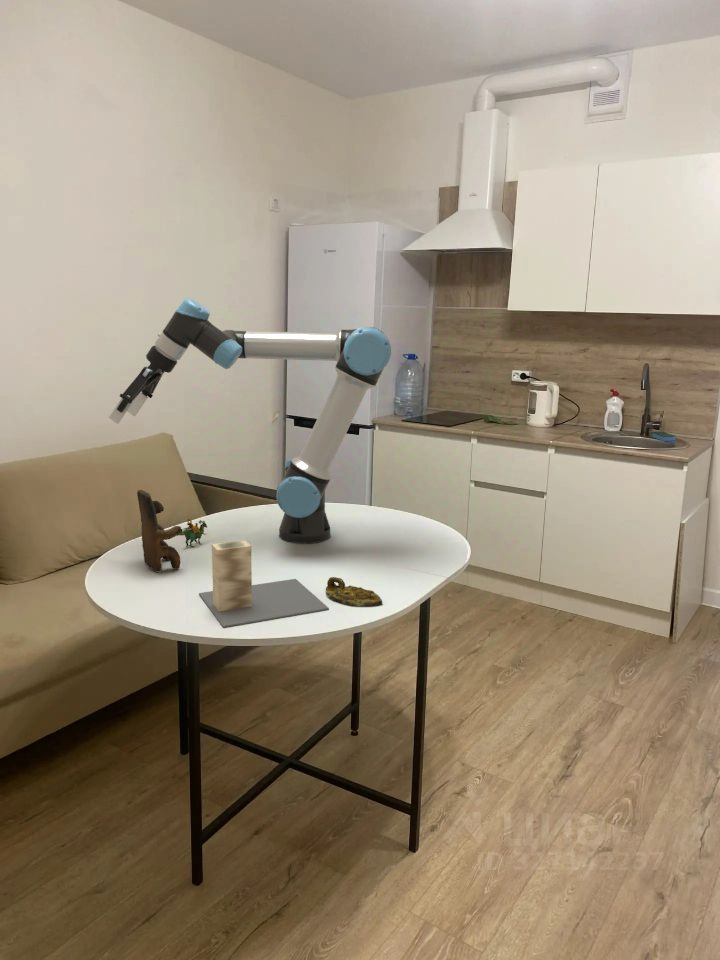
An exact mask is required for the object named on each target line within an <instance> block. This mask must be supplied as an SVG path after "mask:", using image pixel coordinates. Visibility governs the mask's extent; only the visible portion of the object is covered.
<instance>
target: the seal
mask: <svg viewBox="0 0 720 960" xmlns="http://www.w3.org/2000/svg"><path fill="white" fill-rule="evenodd" d="M326 584H327V586H326V587H325V596H326V598H327V599H328V600H330V601H332V602H333V603H336V604H337V603H338V604H340V605H344V606H347V607H353V608H354V607H355V608H370V607H371V608H372V607H378V606H381V605H382V604H383V600H382V598H381V597H380V595H379V594H377V593H375V591H374V590H370V589H365V588H363V587H359V586H358V587H357V586H354V585H348V586H346V582H345V581H344V579H342V578H341V577H335V576H332V577H329V578H328V579H327V582H326Z"/></svg>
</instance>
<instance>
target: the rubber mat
mask: <svg viewBox="0 0 720 960" xmlns="http://www.w3.org/2000/svg"><path fill="white" fill-rule="evenodd" d="M198 596H199V597H200V598H201V600H202V601H203V602H204V604H205V605H206V607H207V608H208V609H209V610H210V612H211V613H212V615H213V616H214V617H215V619H216V620H217V621H218V623H219V624H220V626H221V627H222V628H223V629H225V628H231V627H238V626H243V625H248V624H255V623H260V622H261V623H262V622H266V621H271V620H276V619H277V620H278V619H282V618H284V619H285V618H288V617H289V618H290V617H295V616H301V615H306V614H307V615H308V614H312V613H317V612H323V611H329V609H330V608H329V607H328V605H326V604H325V603H324V602H323V601H322V600H321V599H320V598H318V597H317V596H316V595H315V594H314V593H312V592H311V590H309V589H308V588H307V587H305V585H304V584H303V583H302V582H300V581H299V580H298V579H296V578H291V579H284V580H283V579H282V580H277V581H271V582H265V583H257V584H252V606H250V607H244V608H238V609H232V610H226V611H220V612H219V611H218V610H217V609H216V607H215V606H214V605H213V590H212V591H211V590H210V591H205V592H199V593H198Z"/></svg>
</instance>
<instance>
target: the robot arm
mask: <svg viewBox="0 0 720 960" xmlns="http://www.w3.org/2000/svg"><path fill="white" fill-rule="evenodd" d="M210 315H211V314H210V312H209V310H208V309H206V308H205V307H204V306H203V305H202V304H201V303H199V302H198V301H196V300H194V299H192V298H185V299H184V300H183V301H182V302H181V304H180V305H179V306H178V308H177V309H176V310H175V311H174V313H173V315H172V317H171V318H170V319H169V321H168V322H167V324H166V326H165V327H164V329H162V332H159V333H157V337H158V338H157V339H156V340H155V342H154V345H152V346H151V347H150V348H149V350H148V352H147V354H146V355H145V356H146V360H147V361H148V362H149V363H150V364H149V365H148V366H144V367H142V369H141V370H140V372H139V374H138V375H137V376H136V377H135V378H134V380H133V381H132V382H131V383H130V385H129V386H128V387H127V388H126V389H125V390H124V392H123V393H120V394H119V397H120V398H121V399H120V401H119V402H118V403H117V404H116V406H115V407H114V409H113V411H112V412H111V413H110V415H109V417H108V418H109V420H111V421H112V422H114V423H115V424H116V425H119V424H120V422H121V420H122V419H124V416H125V415H126V413H127V412H128V413H129V414H130V415H131V416H133V417H136V416H137V415H138V413H139V411H140V410H141V409H142V407H143V405H144V404H145V403H146V401H147V400H148V398H149V399H151V398H152V397H153V396H154V395H153V394H154V392H155V390H156V388H157V386H158V385H159V382H160V380H161V378H162V377H163V375H164V374H165V373H168V374H169V373H170V374H171V372H172V371H173V370H174V368H175V367H176V365H177V364H178V361H180V360H181V359H182V357H183V356H184V354H185V352H186V351H187V350H188V348H189V347H190V345H192V346H193V347H194V348H195V349H198V350H199V351H200V352H201V353H203V354H204V355H205V356H206V357H208V358H209V359H210V360H212V361H213V362H214V363H215V364H216V365H218V366H220V367H222V368H223V369H225V370H228V369H231V367H233V365H234V364H235V363H236V362H237V361H238V359H253V360H254V359H257V360H258V359H262V360H291V361H293V360H295V361H296V360H298V361H325V362H326V361H327V362H328V361H329V362H330V361H332V362H337V363H336V364H335V366H334V368H335V372H336V373H337V374H336V375H337V376H336V378H335V380H334V383H333V385H332V387H331V389H330V391H329V392H328V395H327V397H326V399H325V402H324V404H323V406H322V408H321V410H320V413H319V414H318V416H317V419H316V421H315V423H314V425H313V427H312V430H311V432H310V433H309V435H308V438H307V439H306V442H305V444H304V446H303V449H302V450H301V453H300V455H299V456H296V457H294V458H291V459H287V460H286V461H285V462H284V463H285V464H284V474H285V475H283V478H282V480H281V481H280V483H279V484H278V486H277V488H276V492H275V493H276V494H275V495H276V496H275V497H276V502H277V505H278V507H279V508H280V509H281V511H282V512H283V517H282V519H281V522H280V526H279V527H278V528H279V530H278V536H279V538H280V539H281V540H283V541H284V542H289V543H296V544H314V543H319V542H325V541H327V540H328V539H330V538H331V526H330V523H329V519H328V517H327V513H326V489H327V487H328V485H329V483H330V481H331V478H332V476H331V472H330V468H331V466H332V463H333V462H334V460H335V458H336V455H337V454H338V451H339V449H340V447H341V445H342V443H343V441H344V438H345V436H346V435H347V432H348V431H349V428H350V427H351V424H352V423H353V420H354V418H355V416H356V413H357V412H358V410H359V407H360V406H361V403H362V401H363V399H364V397H365V395H366V392H367V391H368V390H370V389H372V388H375V387H376V385H377V384H378V381H379V379H380V377H381V375H382V372H383V371H384V370H385V367H387V365H388V363H389V361H390V360H391V355H392V346H391V342H390V340H389V338H388V337H387V335H386V334H385V333H384V332H383V331H382V330H380V329H378V328H377V327H373V326H362V327H360V328H354V329H339V330H338V331H337V332H305V331H302V332H301V331H299V332H298V331H263V330H262V331H261V330H260V331H259V330H258V331H257V330H255V331H253V330H252V331H251V330H233V329H226V330H222V329H219V328H218V327H217V326H215V325H214V324H213V323H212V322H210V321H209V318H210Z"/></svg>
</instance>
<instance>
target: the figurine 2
mask: <svg viewBox="0 0 720 960" xmlns="http://www.w3.org/2000/svg"><path fill="white" fill-rule="evenodd" d="M186 525H187V527H185V528H184V529H183V531H182V532H181V533H179V534H178V535H177V536H176V537H178V536H184V537H185V544H186V547H188V546H189V548H195V546H193V545H192V543H193V542H195V544H199V545H201V546H203V543H201V541H200V540H201V539H202V535H205V536H206V535H207V533H205V529H204V528H208V525H207V523H206V521H205V520H201V519H200V520H199V521H198V522H195V525H194V524H193V523H192V520H191V519H190V518H188V519H187V523H186ZM199 525H200V526H199Z"/></svg>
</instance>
